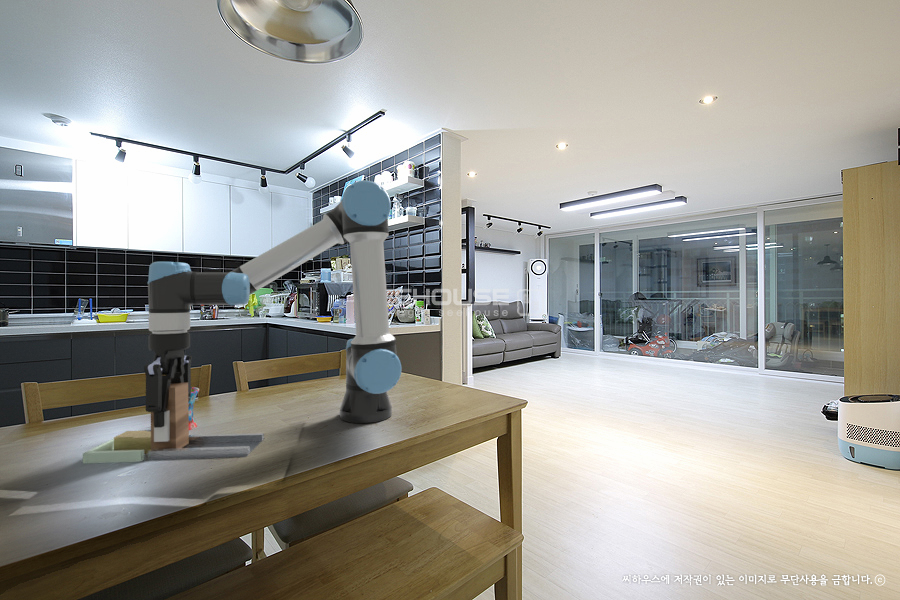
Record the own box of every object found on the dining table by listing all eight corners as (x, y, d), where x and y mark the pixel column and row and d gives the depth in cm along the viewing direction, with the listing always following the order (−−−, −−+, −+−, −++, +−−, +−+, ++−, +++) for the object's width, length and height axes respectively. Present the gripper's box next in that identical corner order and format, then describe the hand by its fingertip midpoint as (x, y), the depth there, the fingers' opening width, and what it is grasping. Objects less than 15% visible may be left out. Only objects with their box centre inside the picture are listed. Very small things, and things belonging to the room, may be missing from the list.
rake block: (188, 443, 90) (188, 382, 89) (176, 451, 85) (175, 387, 84) (165, 444, 89) (164, 383, 89) (151, 453, 84) (150, 388, 84)
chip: (146, 448, 88) (146, 430, 88) (133, 455, 85) (133, 436, 84) (127, 448, 88) (127, 431, 88) (113, 455, 84) (113, 437, 84)
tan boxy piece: (163, 448, 88) (163, 430, 88) (151, 455, 84) (152, 437, 84) (144, 449, 88) (144, 431, 88) (131, 456, 84) (131, 437, 84)
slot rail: (264, 442, 94) (264, 431, 94) (246, 461, 83) (246, 449, 83) (176, 444, 92) (176, 434, 92) (145, 464, 81) (145, 452, 81)
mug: (191, 436, 98) (191, 394, 97) (148, 440, 95) (148, 396, 95) (207, 421, 109) (207, 383, 109) (168, 424, 107) (168, 385, 106)
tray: (175, 444, 93) (175, 431, 93) (140, 465, 81) (141, 451, 81) (125, 445, 91) (125, 432, 91) (82, 468, 79) (82, 453, 79)
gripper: (175, 328, 95) (175, 423, 95) (121, 336, 77) (122, 453, 77) (208, 328, 96) (208, 422, 96) (162, 335, 78) (162, 451, 78)
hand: (169, 436), depth 87 cm, fingers closed on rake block, 5 cm apart
